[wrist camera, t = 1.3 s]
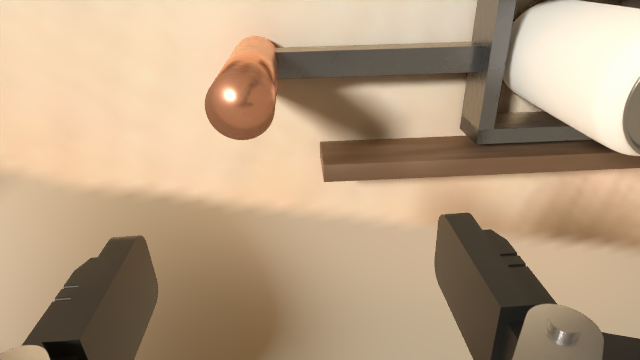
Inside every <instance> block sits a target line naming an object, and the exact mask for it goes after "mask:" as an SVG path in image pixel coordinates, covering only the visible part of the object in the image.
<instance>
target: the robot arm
mask: <svg viewBox="0 0 640 360" xmlns="http://www.w3.org/2000/svg"><path fill="white" fill-rule="evenodd" d="M435 273H436V278H437V281H438V284H439V286H440V288H441V290H442V292H443V295H444V297H445V299H446V301H447V303H448V305H449V307H450V310H451V312H452V314H453V316H454V318H455V321H456V323H457V325H458V327H459V329H460V331H461V334H462V336H463V338H464V340H465V342H466V344H467V347H468V349H469V351H470V353H471V355H472V357H473V359H474V360H640V339H638V338H632V337H626V336H619V335H613V334H608V333H603V332H601V331H600V329H599V328H598V326H597V325H596V324H595V323H594V322H593V321H592V320H591V319H589V318H588V317H587V316H585V315H584V314H582V313H580V312H578V311H576V310H574V309H572V308H569V307H566V306H562V305H557V303H556V302H555V301H554V299H553V298H552V297H551V296H550V295H549V293H548V292H547V291H546V289H545V288H544V287H543V285H542V284H541V283H540V282H539V280H538V279H537V278H536V277H535V275H534V274H533V273H532V271H531V270H530V269H529V268H528V267H526V265H525V263H524V261H523V260H522V259H521V257H520V256H517V252H516V251H515V250H514V249H513V247H512V246H511V245H510V243H509V242H508V241H507V240H506V239H505V238H503V237H501V236H500V235H498V234H497V233H495V232H494V231H492V230H491V229H490V230H482V229H481V228H480V226H479V225H478V223H477V222H476V221H475V219H474V218H473V216H472V215H471V214H470V213H458V214H444V215H441V216H440V217H439V221H438V230H437V241H436V252H435ZM157 297H158V284H157V279H156V275H155V272H154V268H153V265H152V261H151V257H150V254H149V250H148V247H147V243H146V240H145V239H144V237H143V236H127V237H113V238H111V239H110V240H109V241H108V243H107V244H106V246H105V247H104V249H103V250H102V252H101V253H100V255H99V256H98V257H96V258H90V259H89V260H88V261H87V262H85V263H84V264H83V265H81V266H80V267H79V268H78V269H76V270H75V271H74V272H73V273H72V275H71V276H70V278H69V279H68V281H67V282H66V283H65V285H64V289H61V291H60V292H59V293H58V295H57V296H56V298H55V302H52V303H51V305H50V306H49V308H48V309H47V311H46V312H45V313H44V315H43V316H42V317H41V319H40V320H39V322H38V323H37V325H36V326H35V327H34V329H33V330H32V332H31V333H30V334H29V336H28V337H27V339H26V340H25V342H24V343H23V344H22V346H19V347H16V348H12V349H9V350H7V351H5V352H2V353H0V360H134V358H135V356H136V353H137V351H138V348H139V346H140V343H141V341H142V338H143V335H144V333H145V331H146V328H147V326H148V323H149V320H150V318H151V315H152V313H153V310H154V308H155V305H156V302H157Z"/></svg>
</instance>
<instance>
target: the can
mask: <svg viewBox="0 0 640 360" xmlns="http://www.w3.org/2000/svg"><path fill="white" fill-rule="evenodd" d="M503 81H504V82H505V84H506V85H507V86H508V87H509V89H511V90H512V91H513V92H514V93H516V94H517V95H519V96H521V97H522V98H524V99H525V100H527V101H529V102H530V103H532V104H534V105H536V106H537V107H539V108H541V109H542V110H544V111H546V112H547V113H549V114H551V115H552V116H554V117H556V118H557V119H559V120H561V121H563V122H564V123H566V124H568V125H569V126H571V127H573V128H575V129H576V130H578V131H580V132H581V133H583V134H585V135H587V136H588V137H590V138H592V139H594V140H595V141H597V142H599V143H601V144H602V145H604V146H606V147H608V148H610V149H612V150H614V151H617V152H619V153H622V154H626V155H633V156H640V9H638V8H631V7H624V6H616V5H609V4H602V3H594V2H587V1H579V0H548V1H544V2H542V3H539V4H537V5H535V6H533V7H531V8H529V9H528V10H526V11H525V12H524V13H522V14H521V15H520V16H519V17H518V18H517V19H516V20H515V21H514V23H513V24H512V29H511V34H510V40H509V46H508V51H507V57H506V63H505V68H504V74H503Z"/></svg>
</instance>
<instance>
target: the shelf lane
mask: <svg viewBox="0 0 640 360" xmlns="http://www.w3.org/2000/svg"><path fill="white" fill-rule="evenodd" d="M320 158H321V165H322V171H323V178H324V182H334V181H356V180H379V179H401V178H423V177H445V176H468V175H490V174H512V173H535V172H557V171H579V170H602V169H624V168H640V156H633V155H626V154H622V153H619V152H617V151H614V150H612V149H610V148H608V147H606V146H604V145H602V144H601V143H599V142H597V141H595V140H594V139H592V140H568V141H544V142H520V143H496V144H475V143H474V142H473V141H472V140H471V139H470V138H469V137H468V136H452V137H427V138H402V139H378V140H353V141H329V142H320Z"/></svg>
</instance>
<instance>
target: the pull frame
mask: <svg viewBox="0 0 640 360" xmlns="http://www.w3.org/2000/svg"><path fill="white" fill-rule="evenodd" d="M515 6H516V0H478V1H477V8H476V16H475V23H474V30H473V37H472V42H452V43H419V44H387V45H354V46H322V47H290V48H276V47H275V46H274V45H273V44H272V43H271V42H270V41H269V40H267V39H265V38H262V37H258V36H253V37H248V38H246V39H244V40H242V41H241V42H240V43H239V44H238V45H237V47H236V48H235V50H234V51H233V53H232V54H231V56H230V57H229V59H228V61H227V62H226V64H225V65H224V67H223V68H222V70H221V71H220V73H219V74H218V76H217V77H216V79H215V80H214V82H213V83H212V85H211V87H210V88H209V90H208V92H207V95H206V99H205V110H206V114H207V117H208V119H209V121H210V123H211V124H212V126H213V127H214V128H215V129H216V130H217V131H218V132H220V133H221V134H223V135H224V136H226V137H229V138H232V139H237V140H248V139H252V138H255V137H257V136H259V135H261V134H262V133H263V132H265V131H266V130H267V128H268V127H269V126H270V124H271V122H272V120H273V117H274V111H275V103H276V94H277V85H278V79H291V78H320V77H350V76H379V75H408V74H438V73H467V72H468V73H467V81H466V88H465V95H464V102H463V110H462V117H461V124H460V129H461V130H462V131H463V132H464V133H465V134H466V135H467V136H468V137H469V138H470V139H471V140H472V141H473V142H474V143H475V144H496V143H520V142H544V141H568V140H592V138H590V137H588V136H587V135H585V134H583V133H581V132H580V131H578V130H576V129H575V128H573V127H571V126H569V125H568V124H566V123H564V122H563V121H561V120H559V119H557V118H556V117H554V116H552V115H551V114H549V113H547V112H526V113H500V114H496V113H497V108H498V102H499V96H500V91H501V85H502V79H503V74H504V68H505V63H506V57H507V51H508V46H509V40H510V34H511V29H512V23H513V17H514V12H515ZM621 6H624V7H631V8H638V9H640V0H622V3H621Z"/></svg>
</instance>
